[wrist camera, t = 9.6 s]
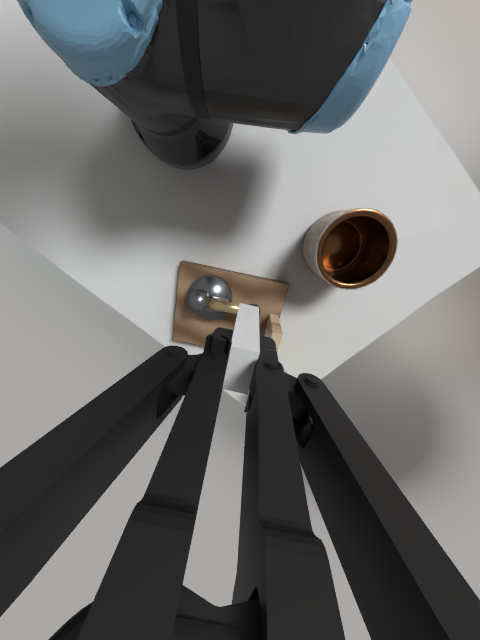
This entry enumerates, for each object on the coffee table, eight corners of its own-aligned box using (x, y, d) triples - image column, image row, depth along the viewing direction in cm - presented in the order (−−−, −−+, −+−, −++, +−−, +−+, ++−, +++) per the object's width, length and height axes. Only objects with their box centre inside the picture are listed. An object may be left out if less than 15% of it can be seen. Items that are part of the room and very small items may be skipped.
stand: (183, 260, 42) (162, 270, 33) (287, 282, 42) (296, 298, 33) (176, 335, 48) (157, 361, 39) (267, 354, 49) (269, 384, 39)
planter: (308, 283, 42) (321, 299, 33) (296, 223, 38) (308, 222, 30) (369, 267, 40) (400, 278, 32) (363, 202, 37) (397, 194, 28)
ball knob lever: (189, 311, 44) (179, 323, 39) (192, 270, 41) (182, 277, 35) (256, 323, 44) (256, 336, 39) (264, 283, 41) (265, 292, 35)
